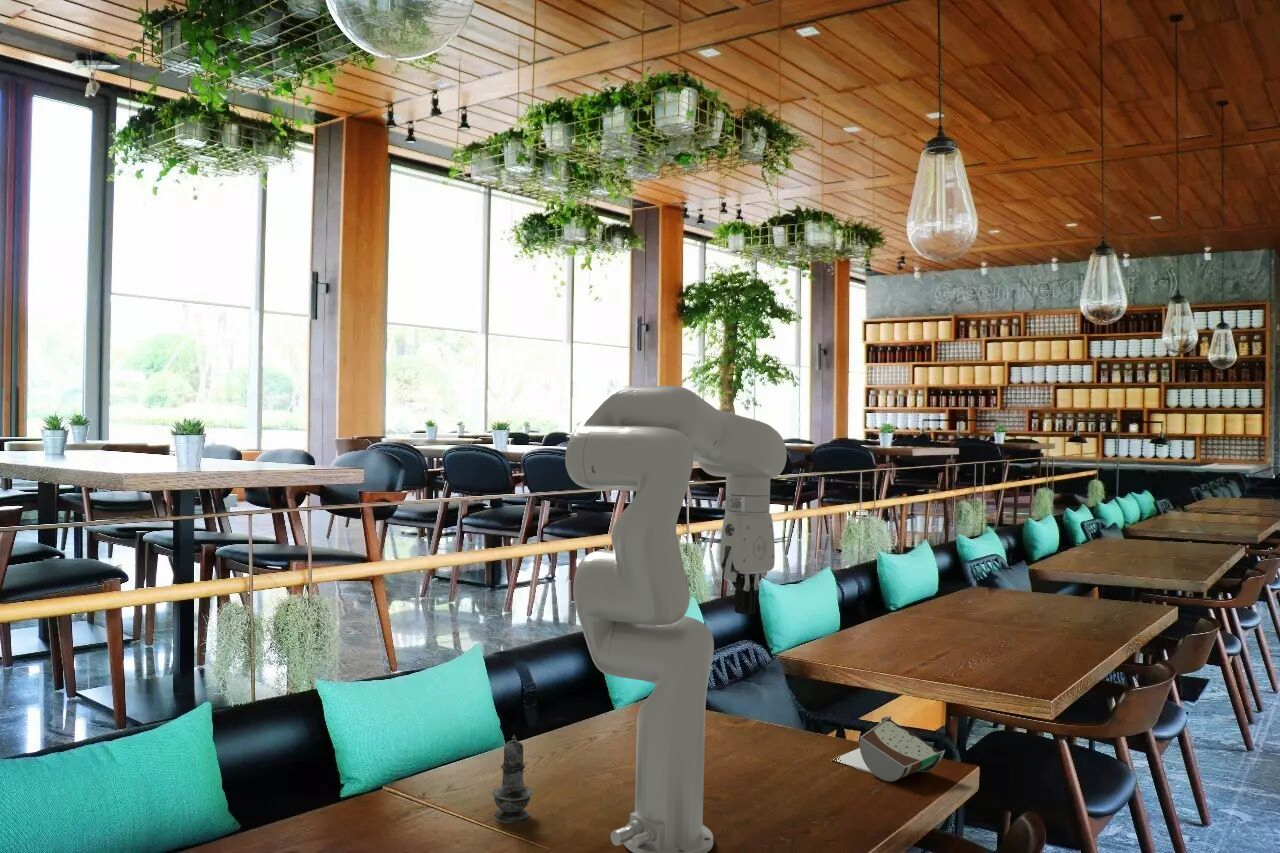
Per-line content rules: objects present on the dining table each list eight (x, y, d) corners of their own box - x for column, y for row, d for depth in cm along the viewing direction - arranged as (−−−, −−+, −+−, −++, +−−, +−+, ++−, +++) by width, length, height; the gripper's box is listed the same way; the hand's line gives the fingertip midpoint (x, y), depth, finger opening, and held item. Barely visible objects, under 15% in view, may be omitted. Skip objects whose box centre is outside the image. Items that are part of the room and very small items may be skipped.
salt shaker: (512, 805, 143) (515, 726, 143) (540, 816, 139) (542, 734, 140) (483, 816, 138) (485, 735, 139) (510, 828, 135) (513, 744, 135)
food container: (905, 804, 155) (941, 781, 161) (912, 772, 153) (947, 751, 159) (847, 762, 164) (882, 743, 170) (852, 732, 162) (888, 714, 168)
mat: (887, 777, 159) (887, 776, 159) (831, 761, 167) (831, 759, 167) (915, 764, 166) (915, 762, 166) (860, 749, 174) (860, 747, 174)
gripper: (738, 508, 152) (735, 622, 152) (790, 505, 163) (788, 611, 163) (702, 505, 158) (699, 615, 157) (755, 502, 168) (753, 605, 168)
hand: (744, 613), depth 160 cm, fingers closed
